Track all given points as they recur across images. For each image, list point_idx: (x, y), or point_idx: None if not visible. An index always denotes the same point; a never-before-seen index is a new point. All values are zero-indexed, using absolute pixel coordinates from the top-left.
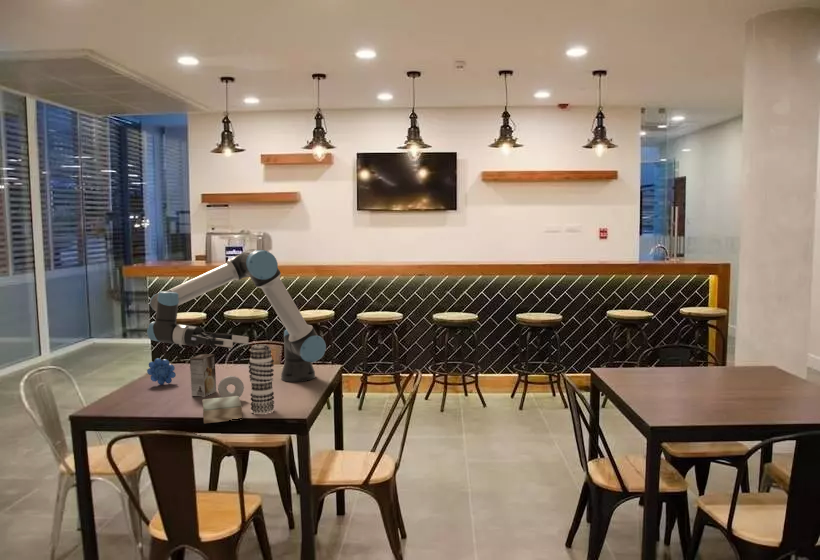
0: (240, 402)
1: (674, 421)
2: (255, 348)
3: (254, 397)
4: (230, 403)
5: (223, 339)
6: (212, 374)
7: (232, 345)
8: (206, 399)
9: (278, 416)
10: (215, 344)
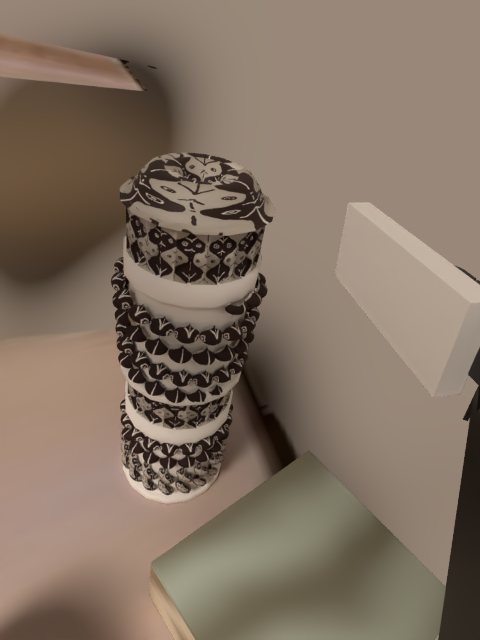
0: (269, 479)
1: (125, 83)
2: (260, 190)
3: (230, 420)
4: (304, 518)
5: (423, 247)
6: None
7: (343, 256)
8: None
9: None
10: (462, 378)
